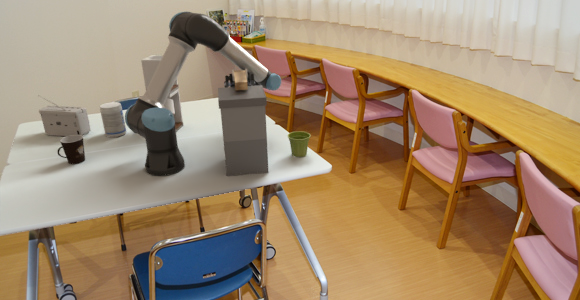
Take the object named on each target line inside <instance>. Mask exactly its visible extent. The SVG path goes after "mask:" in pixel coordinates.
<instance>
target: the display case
mask: <svg viewBox="0 0 580 300" xmlns="http://www.w3.org/2000/svg"><path fill="white" fill-rule="evenodd" d="M163 55H164V54H161V55H159V54H155V55H154V54H151V55H149V56H147V57H144V58H143V59H141V60H140V62H141V67H142V74H143V81H144V86H145V91H146V90H147V88H148V86H149V84H150V82H151V80H152V78H153V76H154V74H155V71H156V69H157V67H158V65H159V63H160V61H161V59H162V57H163ZM178 81H179V79H178V78H177V79H176V81H175V83H174V85H173V87H172V89H171V91H170V93H169V95H168V97H167V99H166V101H165V103H164V107H165V108H166V109H168V110H170V111H171V112H172V113H173V116H174V119H175V129H176V133H178V131H179V130H181V129H182V128H183V127H184V118H183V112H182V104H181V96H180V88H179V82H178Z"/></svg>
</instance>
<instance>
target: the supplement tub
mask: <svg viewBox="0 0 580 300" xmlns="http://www.w3.org/2000/svg"><path fill="white" fill-rule="evenodd" d="M99 111H100V116H101V121H102V126H103V131H104V133H105V136H106V137H108V138H117V137H122V136H124V135H125V134H126V133H127V129H126V122H125V115H124V113H123V107H122V104H121V102H117V101H115V102H114V101H113V102H112V101H111V102H105V103H103V104H100V106H99Z"/></svg>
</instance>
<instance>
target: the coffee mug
mask: <svg viewBox="0 0 580 300" xmlns="http://www.w3.org/2000/svg"><path fill="white" fill-rule="evenodd" d="M59 141H60V144H61V146H59V148H58V149H57V155H58V156H59V157H61V158H64V159H67V163H68V164H70V165H78V164H82V163H84V161H86V156H85V154H86V153H85V143H84V142H85V141H84V135H83V136H81V135H71V136H63V137H62V138H60V139H59ZM61 149H63V152H64V155H65V156H64V155H61V153H60V151H61Z"/></svg>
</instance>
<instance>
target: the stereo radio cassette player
mask: <svg viewBox="0 0 580 300" xmlns="http://www.w3.org/2000/svg"><path fill="white" fill-rule="evenodd" d="M37 97H40V98H42V99H43V100H46V101H47V102H49V103H50V104H52V105H47V106H45V107H42V108H40V109H38V113H39V115H40V117H41V121H42V125H43V129H44V132H45V134H46V136H57V137H58V136H60V137H67V136H71V135H81V136H83V137H84V136H85V135H87V134H89V133H90V132H91V125H90V119H89V116H88V111H87V108H86V107H85V106H84V107H81V106H61V105H58V104H56V103H53V102H52V101H50V100H48V99H47V98H45V97H42V96H41V95H37Z"/></svg>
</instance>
